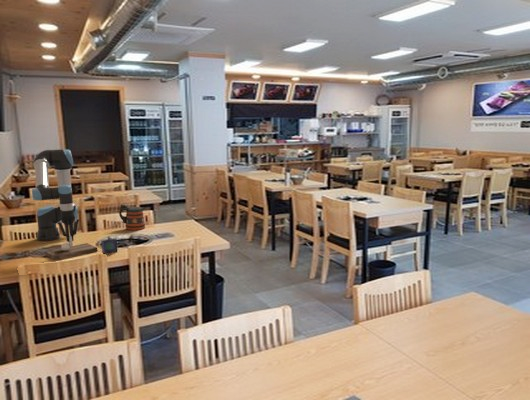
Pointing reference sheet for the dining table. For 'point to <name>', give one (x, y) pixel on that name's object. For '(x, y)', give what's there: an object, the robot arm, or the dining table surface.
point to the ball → (65, 247)
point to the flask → (109, 245)
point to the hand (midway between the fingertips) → (70, 246)
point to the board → (71, 251)
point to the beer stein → (133, 217)
